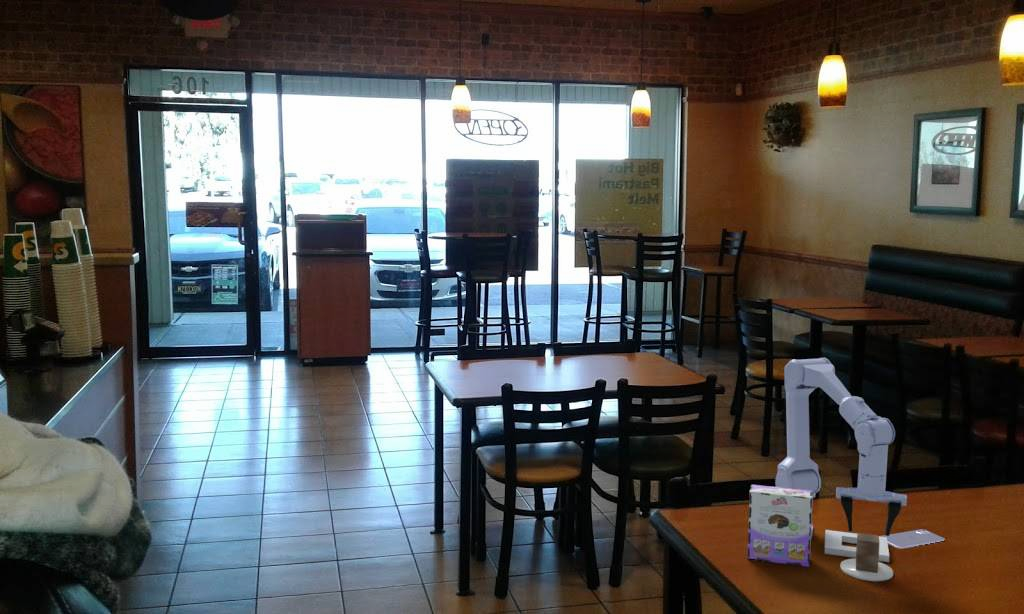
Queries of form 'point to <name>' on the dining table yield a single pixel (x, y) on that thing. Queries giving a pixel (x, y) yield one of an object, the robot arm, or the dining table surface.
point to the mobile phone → (912, 539)
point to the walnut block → (867, 552)
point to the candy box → (780, 525)
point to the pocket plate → (835, 546)
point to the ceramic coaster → (850, 569)
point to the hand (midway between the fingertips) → (868, 532)
